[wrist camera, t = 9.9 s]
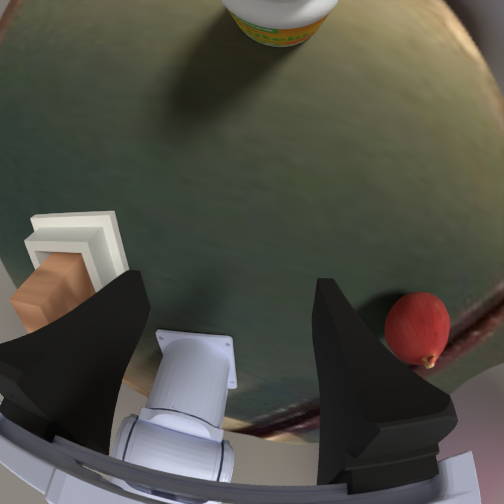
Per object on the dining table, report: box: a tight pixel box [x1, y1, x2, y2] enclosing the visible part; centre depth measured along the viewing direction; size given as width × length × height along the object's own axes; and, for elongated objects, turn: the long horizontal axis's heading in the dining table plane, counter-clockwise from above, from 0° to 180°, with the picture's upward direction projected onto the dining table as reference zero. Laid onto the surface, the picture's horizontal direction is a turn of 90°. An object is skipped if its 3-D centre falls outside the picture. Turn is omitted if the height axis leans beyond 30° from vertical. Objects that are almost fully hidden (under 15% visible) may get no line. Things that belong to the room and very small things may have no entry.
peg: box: [10, 252, 96, 333], centre depth 21 cm, size 4×4×8 cm
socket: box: [24, 211, 129, 292], centre depth 24 cm, size 10×10×3 cm
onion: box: [385, 292, 450, 368], centre depth 21 cm, size 6×6×8 cm
